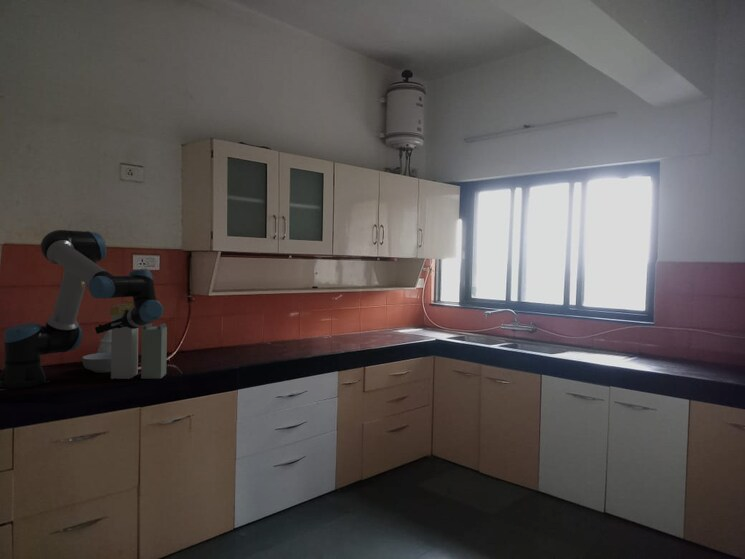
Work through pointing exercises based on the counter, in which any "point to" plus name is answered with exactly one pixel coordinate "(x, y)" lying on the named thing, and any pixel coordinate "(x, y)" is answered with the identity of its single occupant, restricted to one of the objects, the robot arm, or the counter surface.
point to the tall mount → (124, 351)
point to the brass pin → (121, 308)
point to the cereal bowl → (98, 362)
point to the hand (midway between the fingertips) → (115, 326)
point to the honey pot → (105, 343)
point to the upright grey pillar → (153, 351)
